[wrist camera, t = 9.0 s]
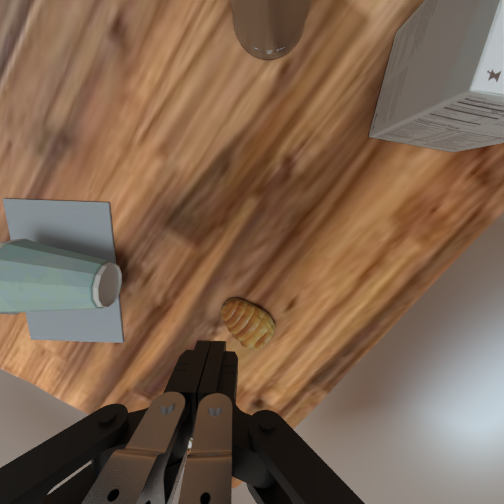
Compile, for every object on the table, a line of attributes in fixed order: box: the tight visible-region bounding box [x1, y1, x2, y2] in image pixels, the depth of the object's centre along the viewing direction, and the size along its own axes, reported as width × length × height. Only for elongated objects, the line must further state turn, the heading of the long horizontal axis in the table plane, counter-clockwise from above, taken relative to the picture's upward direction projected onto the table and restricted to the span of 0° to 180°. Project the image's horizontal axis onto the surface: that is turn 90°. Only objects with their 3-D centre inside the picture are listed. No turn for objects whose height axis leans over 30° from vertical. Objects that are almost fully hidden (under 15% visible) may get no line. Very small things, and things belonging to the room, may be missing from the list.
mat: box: [3, 199, 124, 343], centre depth 41 cm, size 24×16×1 cm, turn 178°
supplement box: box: [369, 0, 504, 152], centre depth 26 cm, size 13×13×18 cm
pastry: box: [221, 298, 276, 350], centre depth 41 cm, size 9×7×4 cm
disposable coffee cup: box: [0, 238, 122, 315], centre depth 35 cm, size 11×11×15 cm
